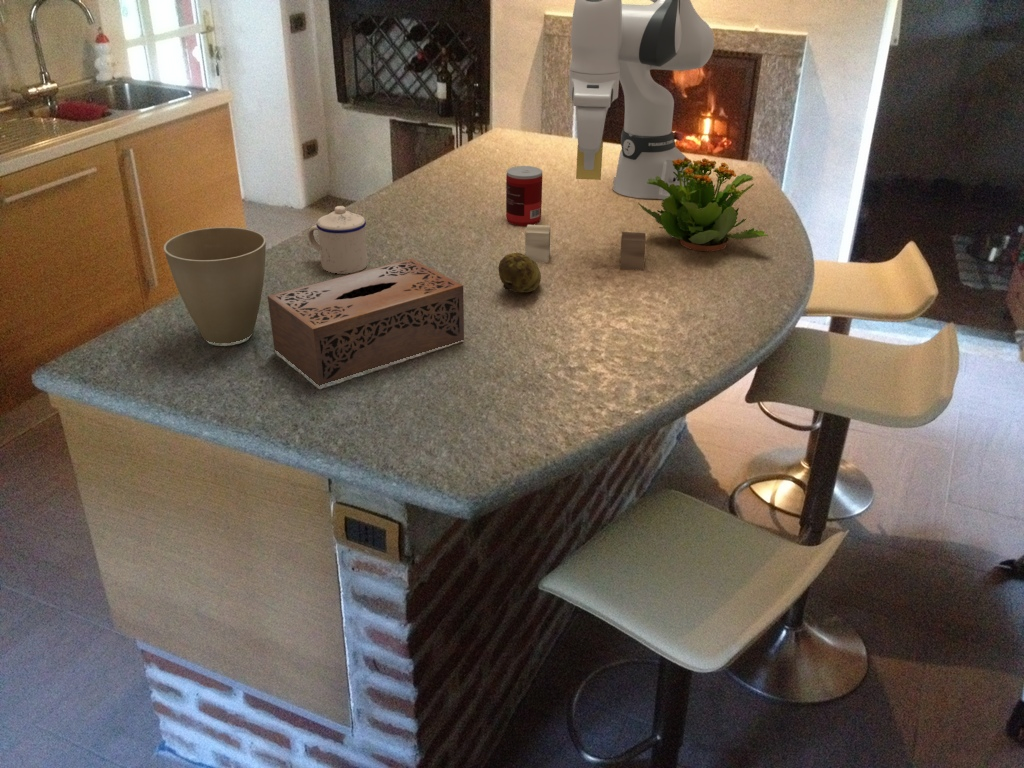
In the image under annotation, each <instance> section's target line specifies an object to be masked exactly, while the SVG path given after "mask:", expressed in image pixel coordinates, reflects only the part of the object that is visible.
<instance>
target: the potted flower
mask: <svg viewBox="0 0 1024 768" xmlns="http://www.w3.org/2000/svg"><path fill="white" fill-rule="evenodd" d="M686 157H687V156H686ZM686 157H684V159H683V161H682V160H681V159H677V160H672V162H673V166H674V169H676V170H677V172H678V175H677V174H676V173H675V172H673V173H674V174H675V175H676V176H677V177H678V178H679V181H680V185H676V186H675V185H674V184H671V185H670V186H669V185H668V183H665V181H663V180H661V178H660V177H659V176H656V178H655V179H656V180H655V179H648V180H649V182H647V183H648V184H653V185H657V186H659V187H661V188H663V189H664V190H666V191H667V192H668V193H670V196H669V197H668V198H666V199H662V202H661V204H660V205H661V207H662V208H663V209H660V210H659V209H658V210H656V211H657V212H656V211H652V210H651V209H650V208H649V209H648V208H647V207H646V206H644V205H642V204H640V202H637V204H638V205H639V206H640V208H642V210H644V211H645V213H647V214H649V215H650V216H652V217H653V218H654V220H655V222H656V223H657V224H658V225H659V224H660V225H661V226H662V227H661V226H659V227H658V228H659V229H664V231H665V232H666V233H667V234H668V235H669V237H670V236H671V237H672V238H675V239H678V240H679V242H680V245H682V246H683V247H684V248H687V249H689V250H693V251H698V252H711V253H712V252H717V251H721V250H723V249H725V248H726V247H727V244H728V242H729V239H733V240H744V239H753V238H761V237H768V236H769V234H765V231H763V230H758V229H756V230H755V227H754V228H750V229H748V230H747V229H746V230H743V231H741V232H740V233H739V232H735V233H732V234H731V233H729V232H730V231H731V230H733V228H735V227H737V226H740V225H742V224H743V223H745V221H747V219H748V218H747V217H746V218H743V219H742V220H741V221H739V222H738V215H739V210H740V208H739V207H737V209H735V207H734V206H733V205H734V204H735V203H736V202H737V200H739V199H740V197H742V196H743V194H745V193H746V192H747V191H748V190H750V189H751V188H752V187H753V186H754V183H751V185H749V186H747V187H746V188H744V189H739V186H741V185H742V184H744V183H747V182H750V181H753V179H754V176H752V175H750V174H746V173H742V174H741V175H737V173H735V170H734V169H731V168H730V167H729V166H730V165H728V164H727V163H726V162H721V163H720V164H721V165H720V166H718V167H716V164H717V161H715V160H709V159H707V158H702V160H694V159H693V160H691V159H689V158H688V157H687V158H686ZM690 162H691V163H690ZM689 163H690V164H689ZM688 164H689V166H688ZM681 167H682V170H681V172H680V171H679V170H680V168H681ZM685 167H687V168H686V169H685V170H683V169H684V168H685ZM712 172H714V173H715V175H716V177H717V179H716V182H717V183H716V184H714V181H713V178H712V177H710V175H711V174H712ZM682 173H683V174H682ZM683 177H684V181H683ZM732 177H734V178H735V179H734V180H733V181H732V183H731V184H730V183H729V184H727V185H725V187H724V189H723V190H722V191H721V190H720V189H721V186H722V185H723V184H724V183H727V180H729V181H731V179H732ZM692 178H693V179H692ZM685 179H686V181H687V186H686V185H685V182H686V181H685ZM681 180H682V182H683V183H684V187H683V186H682V183H681ZM689 180H690V182H688V181H689ZM737 222H738V223H737Z"/></svg>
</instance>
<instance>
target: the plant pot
mask: <svg viewBox="0 0 1024 768" xmlns="http://www.w3.org/2000/svg"><path fill="white" fill-rule="evenodd" d="M266 241H267V240H266V237H265V236H264V234H262V233H260V232H258V231H256V230H252V229H248V228H242V227H233V226H232V227H231V226H229V227H228V226H224V227H223V226H221V227H220V226H217V227H205V228H201V229H200V228H199V229H194V230H190V231H185V232H183V233H179V234H177V235H175V236H173V237H171V238H170V239H169V240H167V241H166V242H165V243H164V245H163V251H164V254H165V257H166V261H167V264H168V266H169V270H170V273H171V275H172V279H173V280H174V283H175V286H176V288H177V290H178V293H179V295H180V297H181V299H182V301H183V304H184V306H185V307H186V310H187V312H188V313H189V316H190V317H191V319H192V321H193V323H194V324H195V326H196V329H198V331H199V334H201V336H202V338H203V339H204V341H205V340H207V341H209V342H213V343H214V342H215V343H231V342H236V341H240V340H243V339H245V338H247V337H249V336H250V335H251V334H252V333H253V334H254V331H255V326H256V323H257V319H258V314H259V311H260V306H261V300H262V294H263V287H264V281H265V280H264V279H265V272H266V270H265V267H266V251H267V249H266V247H267V246H266V245H267V244H266V243H267V242H266ZM253 334H252V335H253Z"/></svg>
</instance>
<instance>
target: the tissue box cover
mask: <svg viewBox="0 0 1024 768" xmlns="http://www.w3.org/2000/svg"><path fill="white" fill-rule="evenodd" d="M267 303H268V309H269V311H268V312H269V317H270V318H269V319H270V325H271V333H272V341H273V348H274V349H275V350H276V351H278V352H279V353H280V354H281V355H283V356H284V357H285V358H286V359H287V360H288V361H290V362H291V363H292V364H294V365H295V366H296V367H297V368H298V369H300V370H301V371H302V372H303V373H304V374H306V375H307V376H308V377H309V378H311V379H312V380H313V381H314V382H315V383H316V384H318V385H319V386H320V385H322V384H325V383H328V382H331V381H335V380H338V379H341V378H344V377H347V376H350V375H353V374H356V373H359V372H363V371H365V370H368V369H372V368H375V367H378V366H381V365H385V364H389V363H390V362H394V361H397V360H400V359H403V358H406V357H410V356H413V355H416V354H419V353H422V352H426V351H429V350H432V349H435V348H438V347H442V346H445V345H449V344H452V343H455V342H458V341H461V340H464V341H465V326H464V325H465V322H464V321H465V317H464V315H465V313H464V312H465V311H464V285H463V284H461V283H459V282H457V281H456V280H453V279H451V278H450V277H448V276H446V275H444V274H442V273H441V272H438V271H436V270H435V269H433V268H431V267H429V266H428V265H426V264H424V263H422V262H419V260H416V259H414V258H409V259H405V260H402V261H397V262H394V263H390V264H389V263H388V264H386V265H382V266H378V267H375V268H374V267H373V268H370V269H366V270H361V271H358V272H355V273H350V274H345V275H344V276H339V277H335V278H332V279H327V280H323V281H319V282H316V283H312V284H308V285H304V286H300V287H296V288H293V289H289V290H284V291H280V292H277V293H273V294H270V295H269V294H268V295H267ZM275 350H274V351H275Z"/></svg>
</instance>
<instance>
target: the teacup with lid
mask: <svg viewBox="0 0 1024 768" xmlns="http://www.w3.org/2000/svg"><path fill="white" fill-rule="evenodd" d="M366 225H367V221H366V219H365V218H364V217H363V216H362V215H360V214H358V213H353V212H351V211H349V210H346V207H345V206H343V205H337V206H335V207H334V211H332V212H330V213H329V214H326V215H322V216H320V217H319V218H318V220H317V221H316V224H315V225H313V226H310V228H309V229H308V230H307V231H308V232H307V237H308V241H309V243H310V244H311V246H312V247H313V248H314V249H315V250H317V251H319V252H320V262H321V263H320V264H321V268H322V269H323V270H324V271H325V270H326V271H325V272H327V271H328V272H327V273H330V272H331V273H330V274H335V273H337V274H336V275H348V274H347V273H350V274H354V273H358V272H362V271H364V269H366V268H367V267H368V252H367V251H368V250H367V239H366V238H367V237H366V236H367V235H366ZM315 231H318V242H317V240H316V239H315V236H314V232H315Z"/></svg>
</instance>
